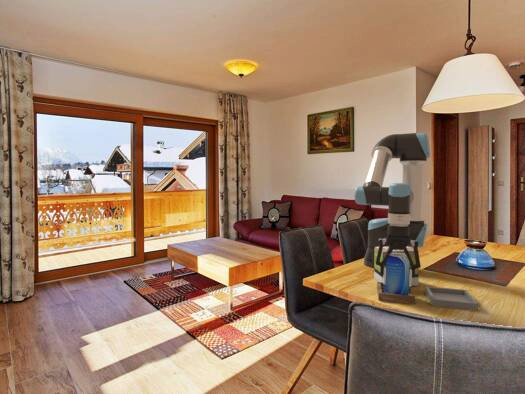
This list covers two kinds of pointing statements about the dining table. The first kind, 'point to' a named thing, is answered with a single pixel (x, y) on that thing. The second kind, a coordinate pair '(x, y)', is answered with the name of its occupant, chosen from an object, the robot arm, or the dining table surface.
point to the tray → (451, 298)
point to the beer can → (397, 274)
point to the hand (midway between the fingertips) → (396, 284)
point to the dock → (393, 295)
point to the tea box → (377, 275)
